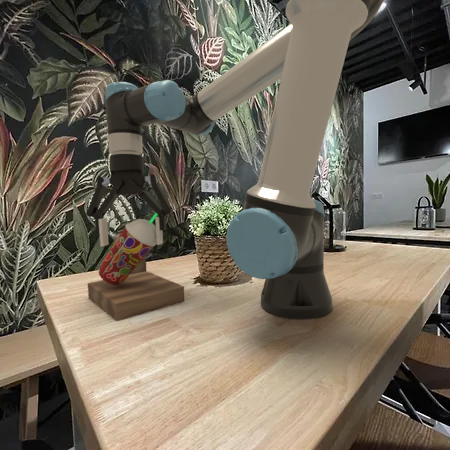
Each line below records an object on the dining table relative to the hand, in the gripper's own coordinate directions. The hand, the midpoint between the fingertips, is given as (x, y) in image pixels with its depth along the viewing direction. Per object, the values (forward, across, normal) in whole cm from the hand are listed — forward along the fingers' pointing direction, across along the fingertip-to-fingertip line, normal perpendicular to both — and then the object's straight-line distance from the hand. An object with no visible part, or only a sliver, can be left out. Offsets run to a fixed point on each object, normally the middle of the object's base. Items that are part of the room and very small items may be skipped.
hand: (132, 244), depth 69 cm
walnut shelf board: (+14, 0, 0) cm, 14 cm away
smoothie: (+8, +6, 0) cm, 10 cm away
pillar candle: (+14, +10, -24) cm, 29 cm away
